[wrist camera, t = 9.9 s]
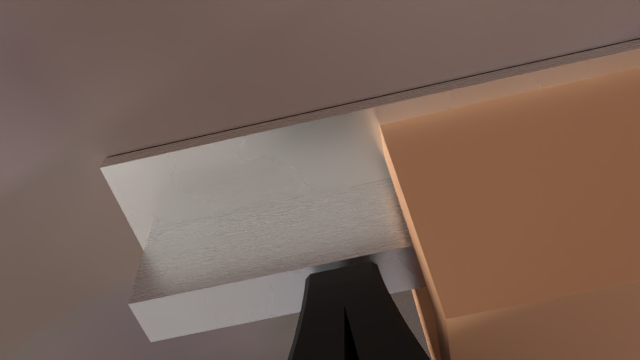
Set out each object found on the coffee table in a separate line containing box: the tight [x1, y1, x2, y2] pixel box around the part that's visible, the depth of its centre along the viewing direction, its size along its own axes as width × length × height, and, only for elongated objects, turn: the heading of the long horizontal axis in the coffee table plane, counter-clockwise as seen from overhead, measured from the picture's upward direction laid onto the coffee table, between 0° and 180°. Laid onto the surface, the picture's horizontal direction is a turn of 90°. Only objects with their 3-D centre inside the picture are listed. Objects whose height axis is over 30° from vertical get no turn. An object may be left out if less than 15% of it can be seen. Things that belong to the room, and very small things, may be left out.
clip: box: [379, 67, 640, 360], centre depth 10 cm, size 4×7×6 cm, turn 102°
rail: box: [100, 39, 640, 342], centre depth 12 cm, size 5×18×3 cm, turn 102°
